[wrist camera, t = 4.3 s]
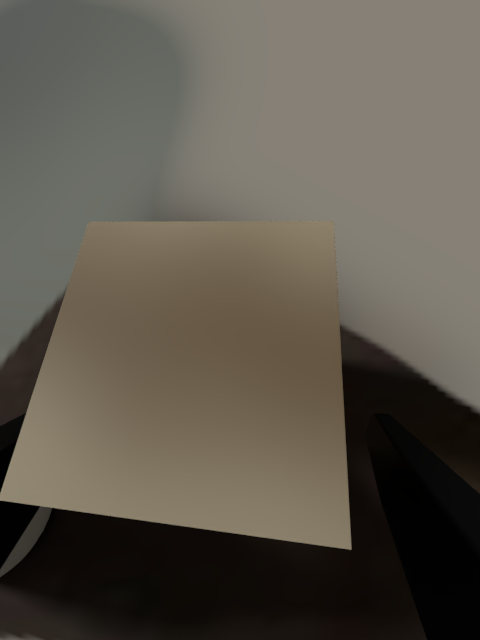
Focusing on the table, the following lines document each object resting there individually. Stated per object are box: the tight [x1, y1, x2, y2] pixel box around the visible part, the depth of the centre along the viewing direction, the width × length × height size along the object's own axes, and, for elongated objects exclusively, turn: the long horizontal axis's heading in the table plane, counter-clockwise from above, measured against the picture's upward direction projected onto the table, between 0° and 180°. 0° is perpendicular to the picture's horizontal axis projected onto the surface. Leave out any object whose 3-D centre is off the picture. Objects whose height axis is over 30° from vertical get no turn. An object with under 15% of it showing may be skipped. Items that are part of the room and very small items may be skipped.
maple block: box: [0, 221, 352, 550], centre depth 10 cm, size 5×5×13 cm
